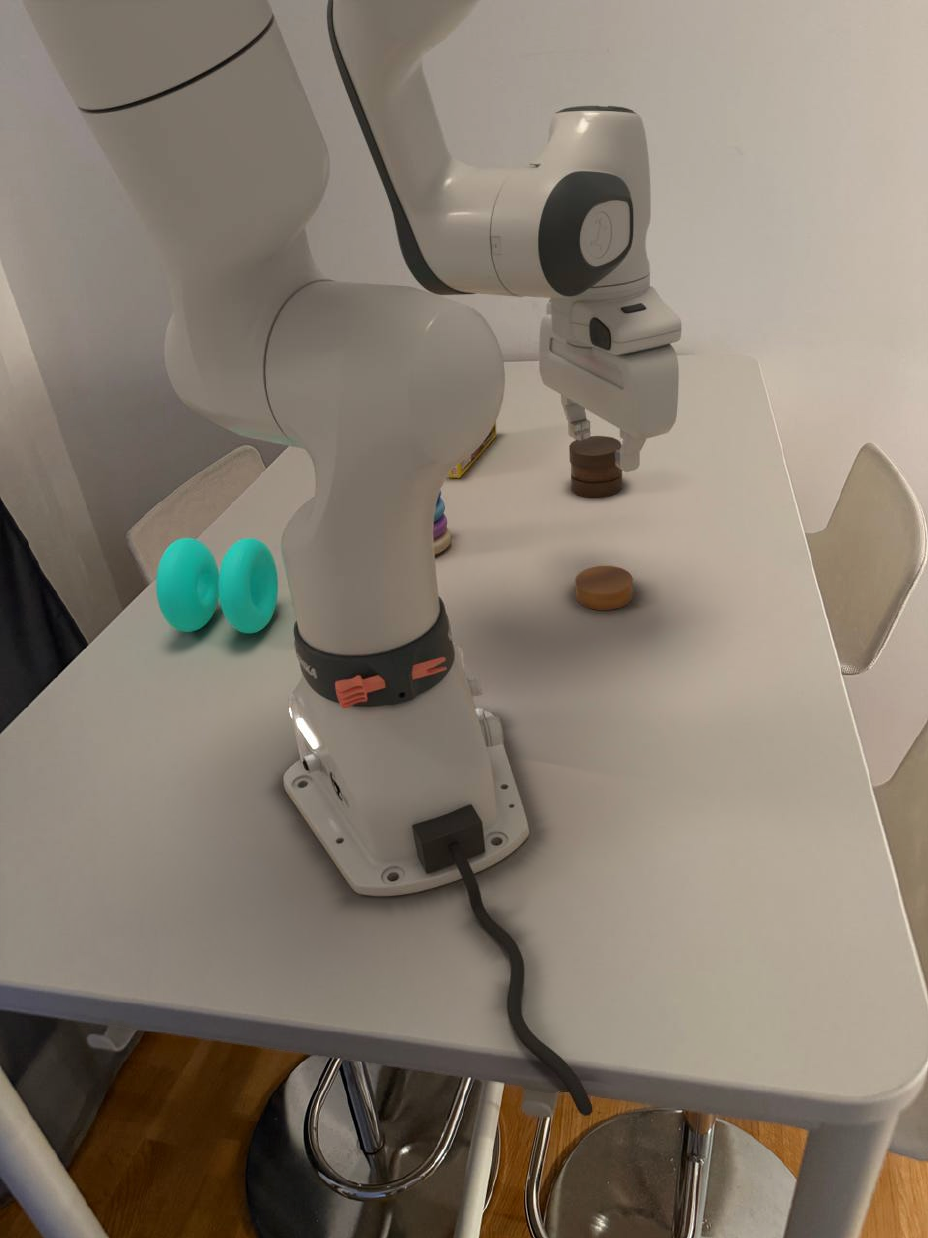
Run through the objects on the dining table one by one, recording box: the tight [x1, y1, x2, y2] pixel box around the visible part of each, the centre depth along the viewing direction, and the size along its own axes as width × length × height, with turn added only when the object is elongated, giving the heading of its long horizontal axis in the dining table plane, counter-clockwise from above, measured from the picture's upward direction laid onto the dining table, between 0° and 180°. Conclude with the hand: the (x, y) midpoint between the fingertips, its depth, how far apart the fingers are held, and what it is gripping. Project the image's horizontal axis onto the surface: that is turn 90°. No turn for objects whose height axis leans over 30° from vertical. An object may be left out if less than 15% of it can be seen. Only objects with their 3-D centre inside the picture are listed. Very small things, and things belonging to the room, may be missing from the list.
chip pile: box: [568, 435, 623, 499], centre depth 119 cm, size 7×7×6 cm
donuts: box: [155, 537, 279, 634], centre depth 97 cm, size 10×10×10 cm
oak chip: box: [574, 565, 634, 611], centre depth 97 cm, size 6×6×2 cm
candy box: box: [448, 421, 497, 479], centre depth 132 cm, size 16×2×8 cm, turn 160°
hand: (602, 452), depth 90 cm, fingers open, 8 cm apart
